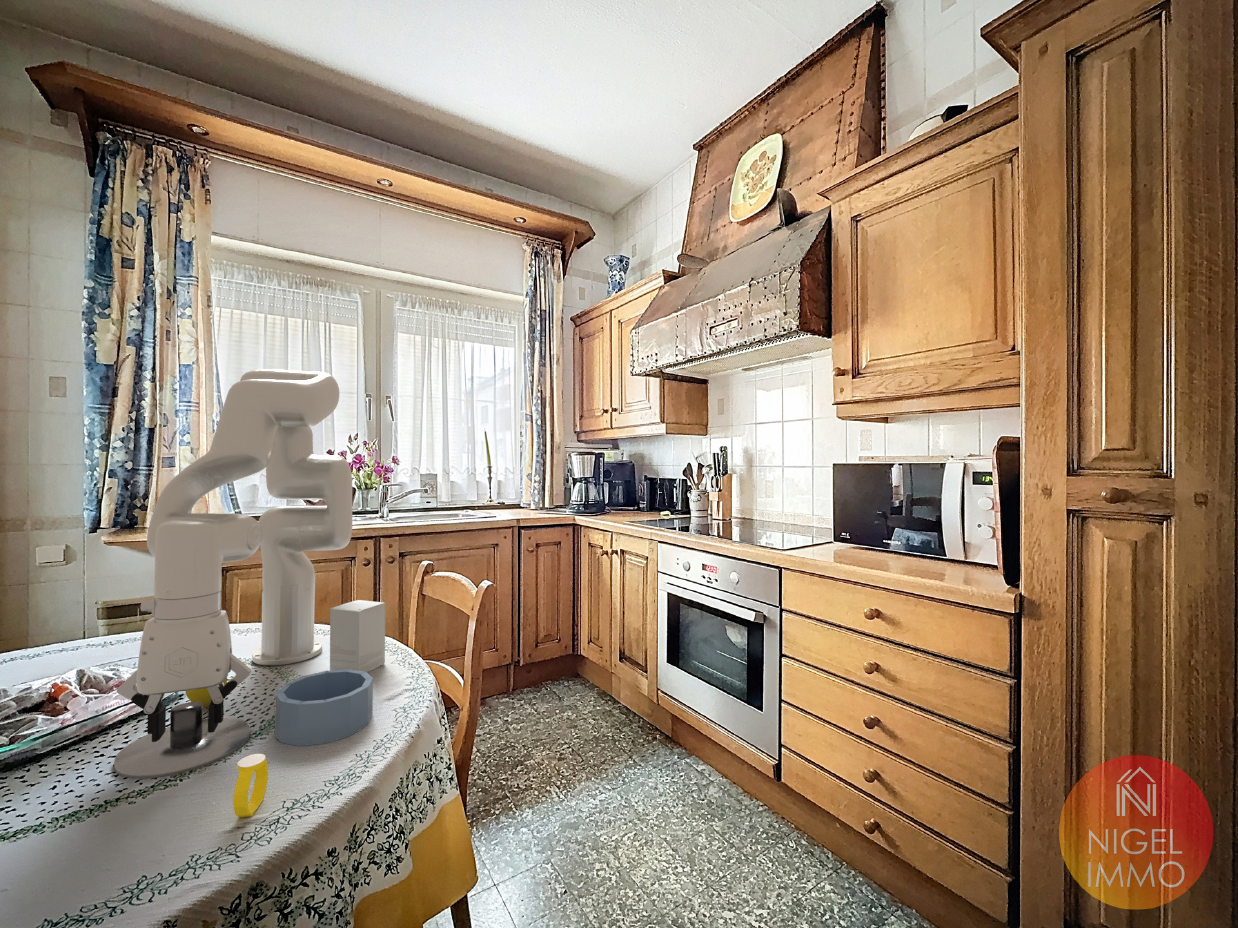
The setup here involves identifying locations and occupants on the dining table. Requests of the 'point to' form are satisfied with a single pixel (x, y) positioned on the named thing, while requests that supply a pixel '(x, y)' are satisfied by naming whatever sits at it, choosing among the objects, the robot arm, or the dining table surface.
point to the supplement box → (357, 636)
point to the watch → (243, 783)
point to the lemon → (200, 695)
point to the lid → (182, 745)
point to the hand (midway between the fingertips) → (186, 731)
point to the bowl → (323, 707)
